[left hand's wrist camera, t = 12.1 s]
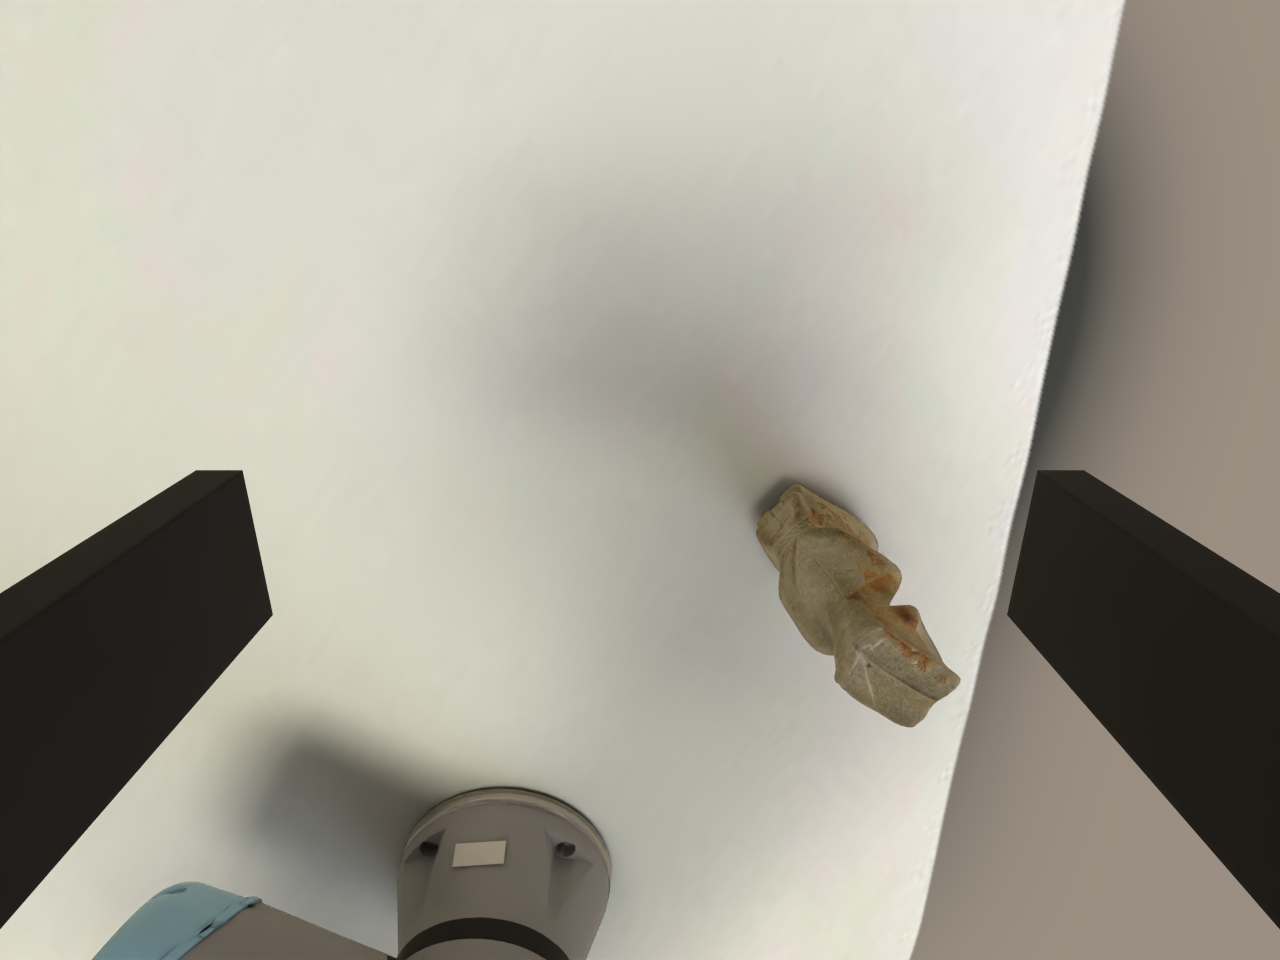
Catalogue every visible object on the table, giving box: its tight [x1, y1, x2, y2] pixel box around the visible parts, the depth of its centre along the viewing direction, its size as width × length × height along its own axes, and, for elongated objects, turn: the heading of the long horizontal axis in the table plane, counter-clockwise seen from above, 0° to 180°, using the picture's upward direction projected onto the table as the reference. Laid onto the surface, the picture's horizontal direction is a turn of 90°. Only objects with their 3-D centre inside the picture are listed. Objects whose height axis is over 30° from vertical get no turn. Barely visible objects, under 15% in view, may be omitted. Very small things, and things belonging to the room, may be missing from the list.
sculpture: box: [756, 484, 961, 727], centre depth 37 cm, size 6×7×15 cm
